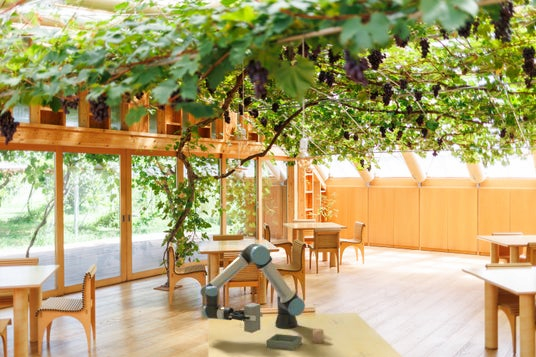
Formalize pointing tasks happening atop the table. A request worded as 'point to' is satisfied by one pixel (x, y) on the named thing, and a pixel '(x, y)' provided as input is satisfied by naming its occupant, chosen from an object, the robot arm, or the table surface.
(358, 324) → the table surface
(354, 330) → the table surface
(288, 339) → the bin
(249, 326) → the skincare box
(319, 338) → the peach rounded cylinder
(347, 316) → the table surface
